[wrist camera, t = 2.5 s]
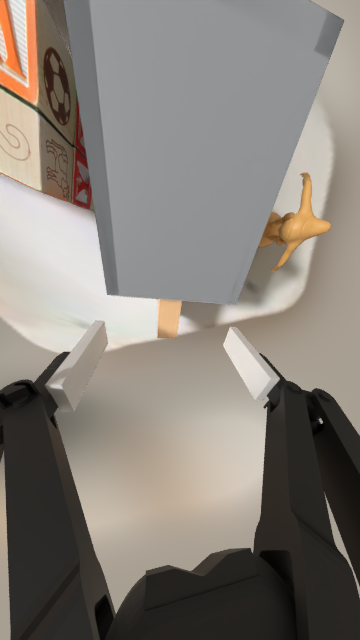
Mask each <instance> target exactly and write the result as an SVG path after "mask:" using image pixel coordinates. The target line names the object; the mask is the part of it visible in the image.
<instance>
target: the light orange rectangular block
mask: <svg viewBox="0 0 360 640" xmlns="http://www.w3.org/2000/svg"><path fill="white" fill-rule="evenodd" d="M181 305H182V301H176V300H163V299H159V300H158V337H157V338H176V337H177V330H178V324H179V318H180V311H181Z"/></svg>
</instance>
